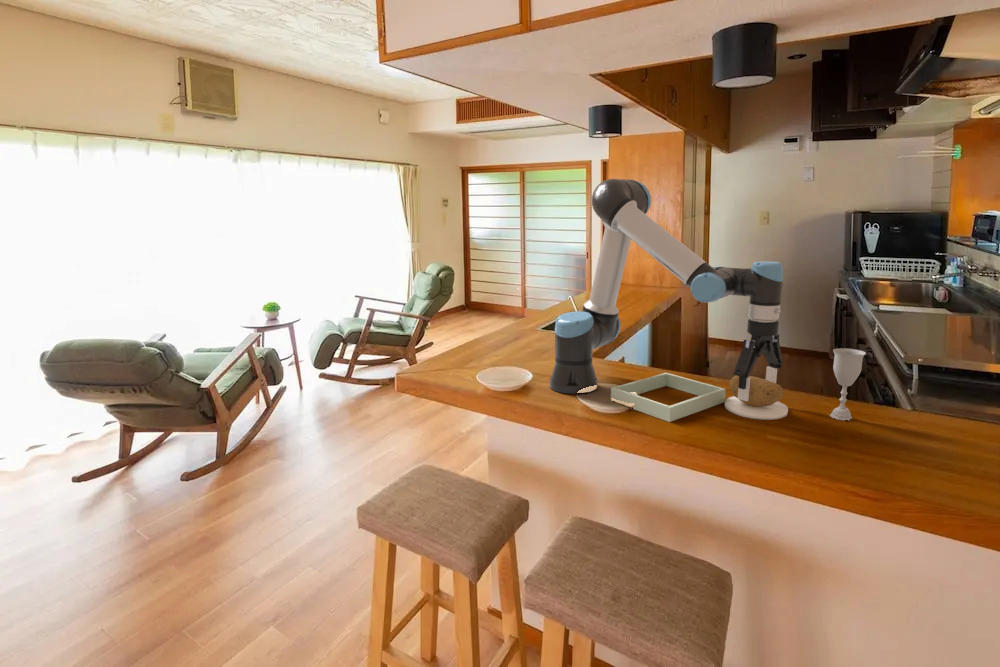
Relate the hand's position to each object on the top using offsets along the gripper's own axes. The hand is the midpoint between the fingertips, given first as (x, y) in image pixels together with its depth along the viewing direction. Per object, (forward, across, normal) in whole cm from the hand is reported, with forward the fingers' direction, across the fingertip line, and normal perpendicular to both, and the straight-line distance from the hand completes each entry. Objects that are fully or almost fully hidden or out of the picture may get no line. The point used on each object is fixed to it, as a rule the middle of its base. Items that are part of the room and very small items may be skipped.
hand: (756, 394), depth 152 cm
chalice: (+4, +12, -17) cm, 21 cm away
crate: (+4, -14, +19) cm, 24 cm away
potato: (+3, 0, 0) cm, 3 cm away
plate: (+4, 0, 0) cm, 4 cm away
